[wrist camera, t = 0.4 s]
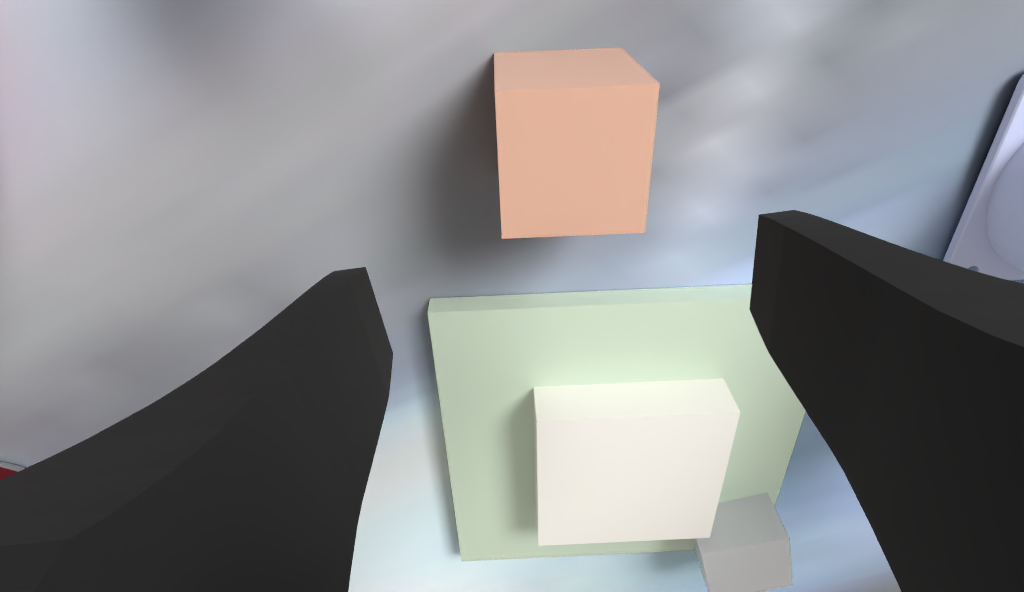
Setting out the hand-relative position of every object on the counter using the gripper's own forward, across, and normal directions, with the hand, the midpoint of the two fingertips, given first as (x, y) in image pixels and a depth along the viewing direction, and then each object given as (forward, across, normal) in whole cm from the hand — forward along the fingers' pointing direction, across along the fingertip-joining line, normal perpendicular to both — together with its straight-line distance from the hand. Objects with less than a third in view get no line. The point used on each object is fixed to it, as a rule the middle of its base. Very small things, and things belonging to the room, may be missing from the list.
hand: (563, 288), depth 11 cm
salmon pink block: (+10, -1, 0) cm, 10 cm away
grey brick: (+9, -8, +22) cm, 25 cm away
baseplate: (+10, -2, +15) cm, 18 cm away
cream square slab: (+10, -2, +15) cm, 18 cm away
